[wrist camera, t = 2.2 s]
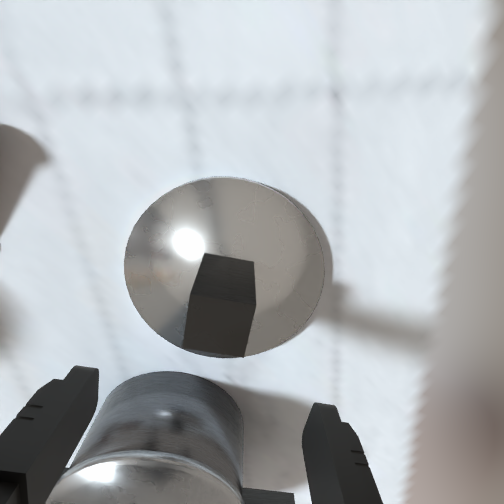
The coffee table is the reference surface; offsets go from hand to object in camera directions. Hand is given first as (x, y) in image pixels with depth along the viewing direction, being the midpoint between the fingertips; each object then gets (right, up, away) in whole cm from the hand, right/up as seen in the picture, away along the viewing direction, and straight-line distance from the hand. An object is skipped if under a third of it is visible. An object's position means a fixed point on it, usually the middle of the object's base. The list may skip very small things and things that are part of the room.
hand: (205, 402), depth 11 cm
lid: (0, +4, +9) cm, 10 cm away
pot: (-5, -9, +14) cm, 18 cm away
